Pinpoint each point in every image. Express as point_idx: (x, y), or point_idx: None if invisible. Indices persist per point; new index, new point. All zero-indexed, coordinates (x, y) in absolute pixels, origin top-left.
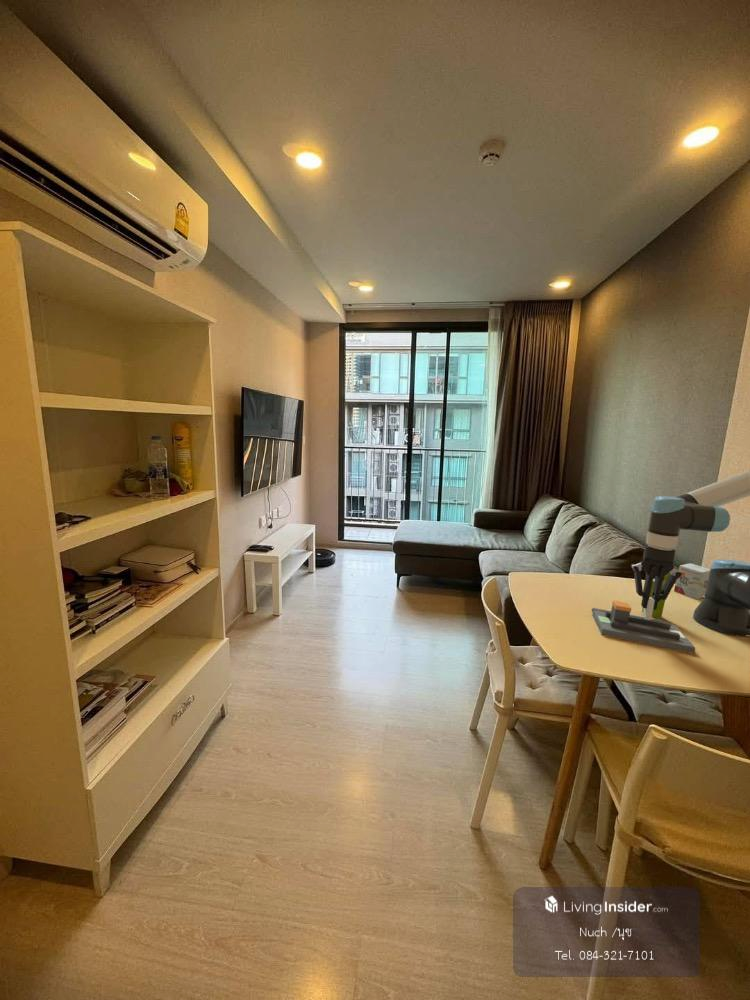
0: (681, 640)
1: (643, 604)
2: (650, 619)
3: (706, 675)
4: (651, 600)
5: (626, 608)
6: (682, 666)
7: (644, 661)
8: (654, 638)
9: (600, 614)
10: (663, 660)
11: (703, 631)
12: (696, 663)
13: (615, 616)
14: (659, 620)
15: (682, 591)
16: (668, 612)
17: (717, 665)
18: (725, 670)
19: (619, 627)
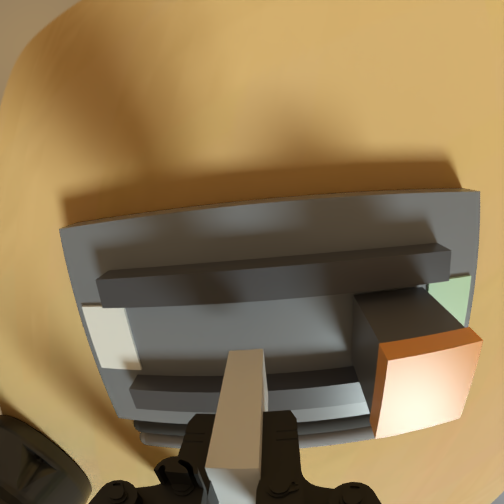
0: (99, 274)
1: (293, 431)
2: (232, 352)
3: (83, 46)
4: (234, 466)
5: (417, 350)
6: (148, 54)
7: (309, 4)
8: (226, 217)
9: None
10: (218, 56)
11: (59, 422)
12: (85, 126)
13: (436, 306)
14: (172, 444)
15: None
16: None
17: (27, 168)
18: (16, 144)
19: (403, 248)
